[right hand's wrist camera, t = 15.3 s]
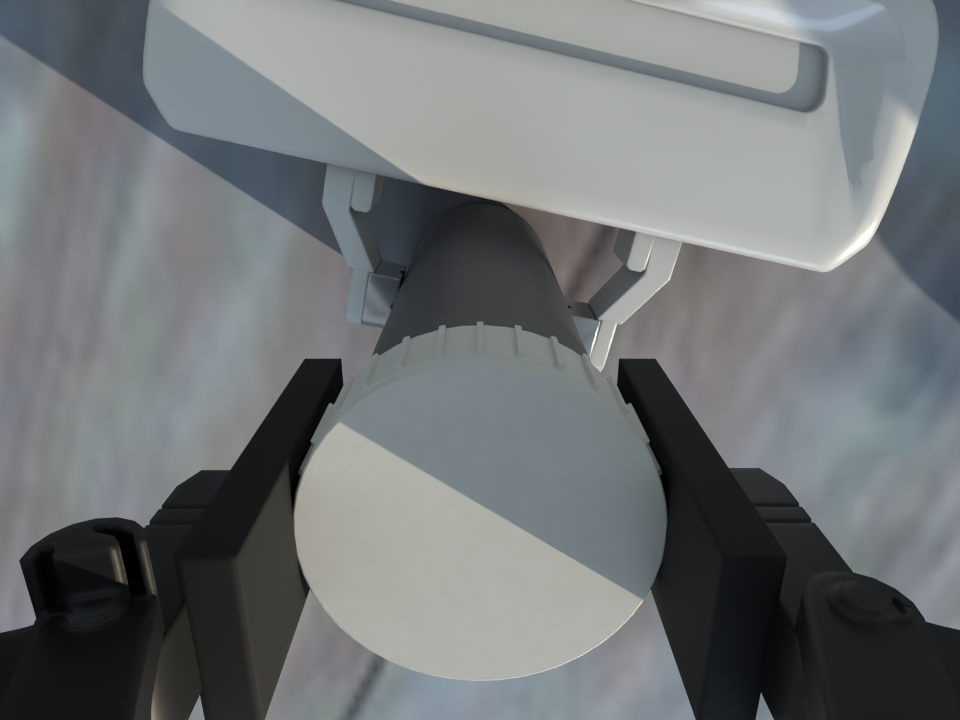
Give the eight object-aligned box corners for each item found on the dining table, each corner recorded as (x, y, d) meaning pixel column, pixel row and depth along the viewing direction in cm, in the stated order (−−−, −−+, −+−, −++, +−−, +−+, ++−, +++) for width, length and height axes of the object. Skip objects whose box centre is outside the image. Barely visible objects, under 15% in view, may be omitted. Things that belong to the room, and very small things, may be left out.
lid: (521, 247, 11) (528, 276, 9) (707, 509, 13) (743, 574, 11) (244, 444, 12) (205, 501, 10) (448, 656, 14) (443, 735, 12)
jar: (511, 178, 26) (562, 312, 10) (567, 298, 28) (689, 580, 11) (390, 240, 27) (253, 456, 11) (452, 352, 28) (415, 685, 12)
